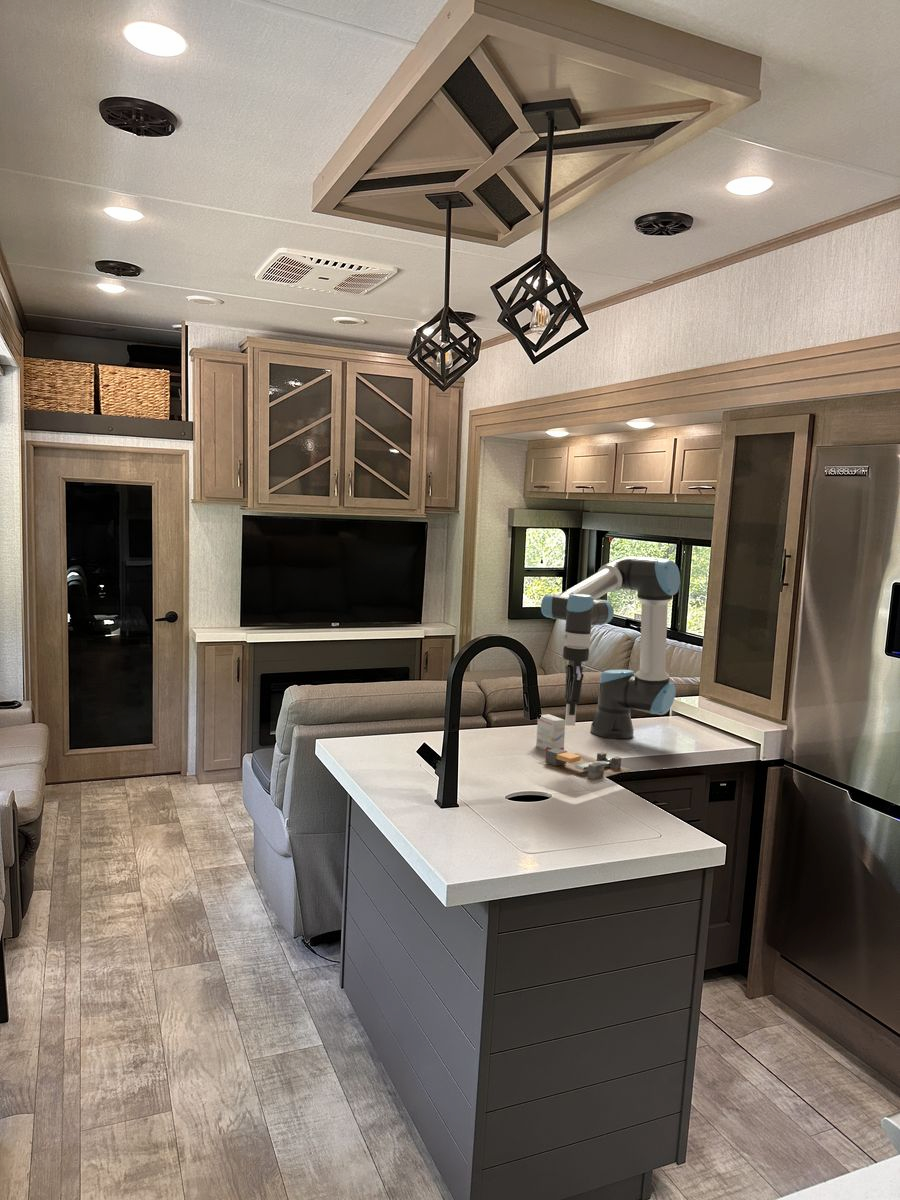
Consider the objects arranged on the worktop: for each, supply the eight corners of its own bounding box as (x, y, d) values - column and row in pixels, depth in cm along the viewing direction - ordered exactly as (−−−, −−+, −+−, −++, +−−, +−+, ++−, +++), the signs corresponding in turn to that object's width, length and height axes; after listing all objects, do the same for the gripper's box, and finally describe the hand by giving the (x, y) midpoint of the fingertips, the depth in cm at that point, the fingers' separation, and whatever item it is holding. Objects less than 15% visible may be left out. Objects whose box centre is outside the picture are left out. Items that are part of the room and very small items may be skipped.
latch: (555, 760, 253) (556, 748, 252) (579, 767, 246) (580, 755, 246) (545, 762, 249) (546, 750, 249) (569, 770, 243) (570, 757, 243)
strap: (605, 763, 253) (606, 757, 253) (614, 766, 251) (614, 760, 251) (574, 768, 242) (575, 762, 242) (583, 771, 240) (583, 764, 240)
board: (576, 757, 264) (578, 741, 263) (630, 774, 250) (631, 757, 249) (536, 767, 250) (538, 750, 249) (591, 785, 236) (592, 767, 235)
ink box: (564, 756, 265) (567, 719, 263) (551, 757, 262) (555, 721, 261) (546, 748, 272) (549, 713, 271) (534, 750, 269) (537, 714, 268)
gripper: (559, 642, 251) (553, 718, 254) (568, 649, 238) (562, 729, 241) (583, 643, 252) (577, 719, 254) (594, 651, 239) (587, 731, 241)
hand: (569, 724), depth 247 cm, fingers closed
